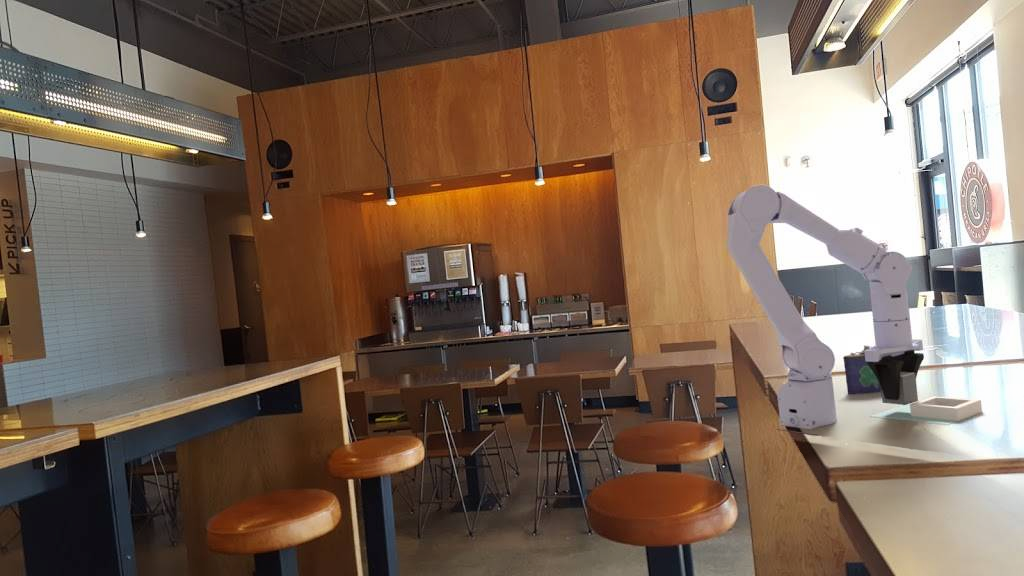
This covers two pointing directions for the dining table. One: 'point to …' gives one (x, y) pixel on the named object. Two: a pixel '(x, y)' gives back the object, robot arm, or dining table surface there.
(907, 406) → the translucent flat sheet
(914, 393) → the grey block
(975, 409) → the socket
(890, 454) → the dining table surface
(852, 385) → the flask
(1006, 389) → the dining table surface
